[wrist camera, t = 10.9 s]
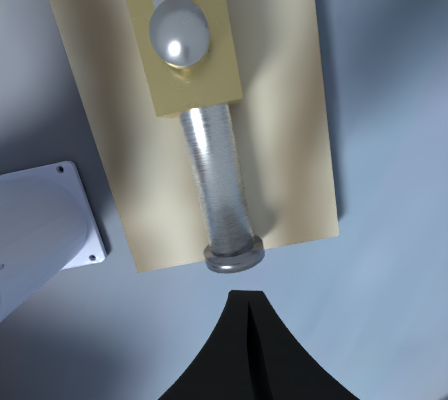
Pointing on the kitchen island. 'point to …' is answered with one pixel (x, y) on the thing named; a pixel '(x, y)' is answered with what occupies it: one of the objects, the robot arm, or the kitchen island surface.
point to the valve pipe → (206, 132)
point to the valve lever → (179, 33)
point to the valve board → (241, 119)
